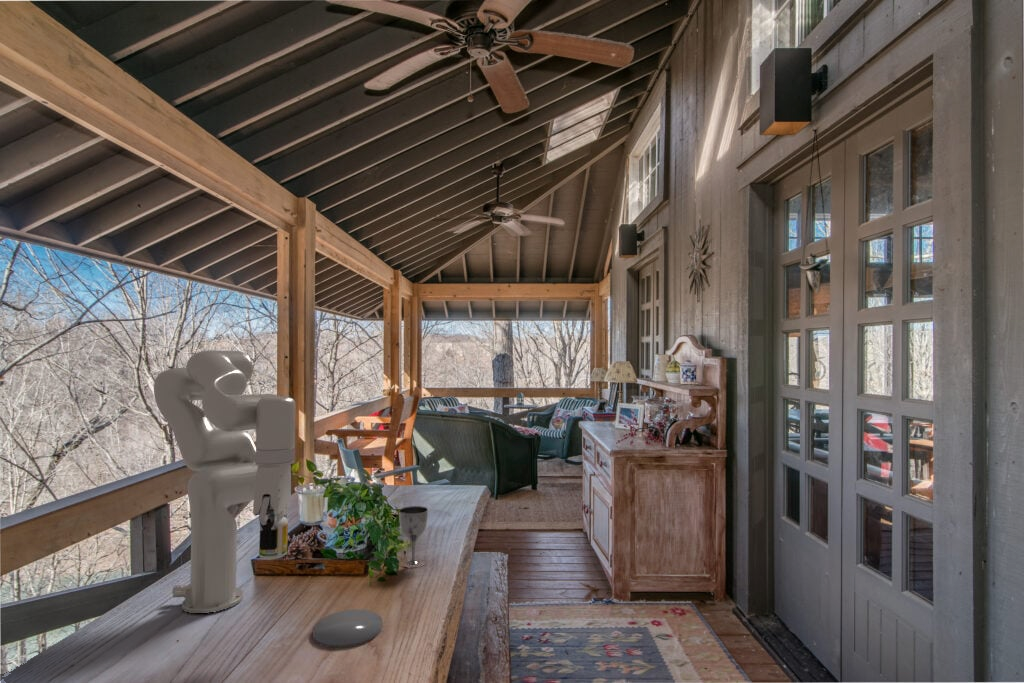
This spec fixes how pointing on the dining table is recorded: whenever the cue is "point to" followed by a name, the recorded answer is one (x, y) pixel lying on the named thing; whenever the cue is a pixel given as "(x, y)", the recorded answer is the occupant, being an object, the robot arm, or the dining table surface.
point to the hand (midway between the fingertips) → (273, 543)
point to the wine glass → (413, 526)
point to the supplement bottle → (281, 538)
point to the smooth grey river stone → (347, 628)
